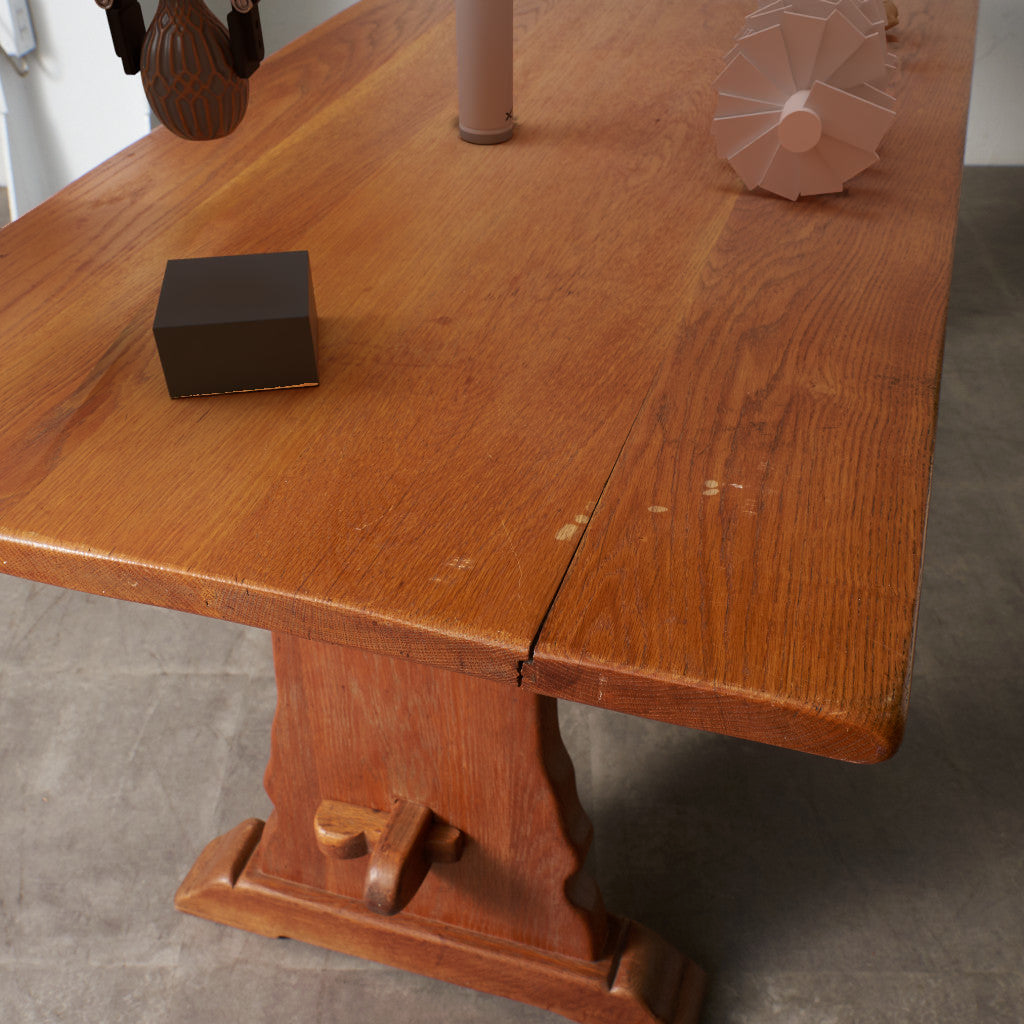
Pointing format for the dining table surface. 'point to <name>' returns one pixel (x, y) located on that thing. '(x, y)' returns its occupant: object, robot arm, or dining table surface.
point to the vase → (192, 72)
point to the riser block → (237, 323)
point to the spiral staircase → (805, 95)
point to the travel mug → (485, 70)
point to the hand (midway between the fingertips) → (193, 68)
